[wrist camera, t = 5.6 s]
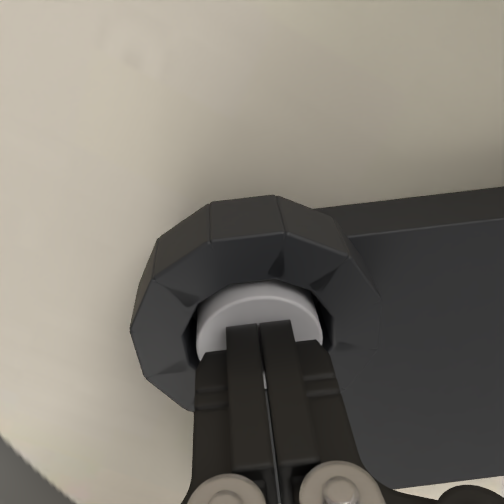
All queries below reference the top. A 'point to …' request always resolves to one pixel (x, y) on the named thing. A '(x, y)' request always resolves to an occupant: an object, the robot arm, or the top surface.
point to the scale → (359, 317)
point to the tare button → (255, 313)
